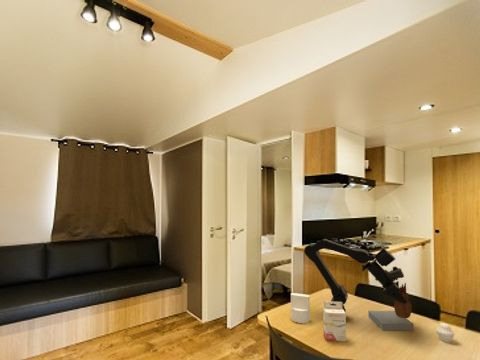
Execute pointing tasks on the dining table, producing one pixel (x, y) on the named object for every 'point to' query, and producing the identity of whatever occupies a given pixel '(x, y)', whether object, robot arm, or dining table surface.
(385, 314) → the plinth
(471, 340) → the dining table surface
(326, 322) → the ink cartridge box
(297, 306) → the base with upright slab
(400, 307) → the wooden figurine
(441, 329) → the muffin
